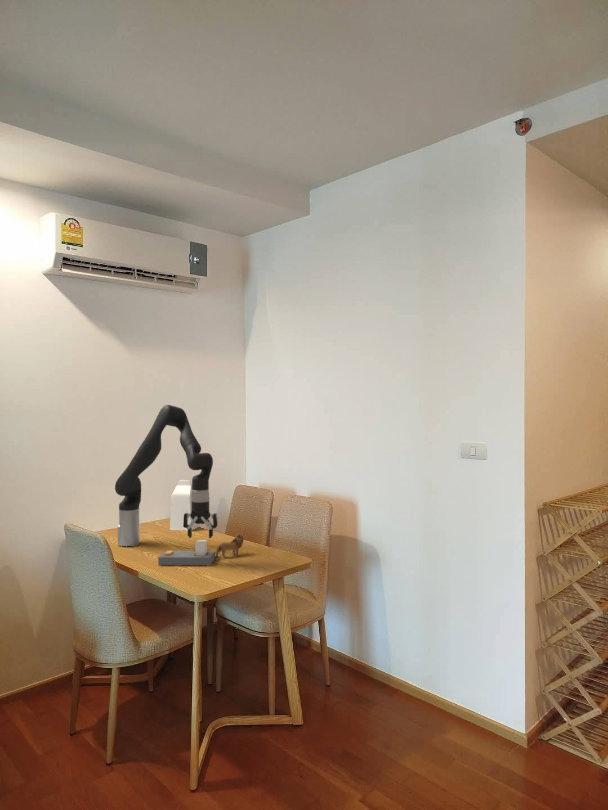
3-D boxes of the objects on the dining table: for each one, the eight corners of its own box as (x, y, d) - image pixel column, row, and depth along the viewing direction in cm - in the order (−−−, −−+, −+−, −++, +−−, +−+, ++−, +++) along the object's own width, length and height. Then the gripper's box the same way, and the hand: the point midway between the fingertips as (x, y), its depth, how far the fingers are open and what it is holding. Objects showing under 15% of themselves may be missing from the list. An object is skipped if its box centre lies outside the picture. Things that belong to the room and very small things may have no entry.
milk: (169, 530, 286) (169, 481, 285) (179, 525, 297) (179, 478, 296) (190, 531, 283) (190, 482, 282) (199, 526, 294) (199, 479, 294)
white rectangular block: (195, 563, 228) (195, 542, 228) (197, 560, 232) (197, 540, 232) (205, 563, 228) (204, 542, 228) (207, 560, 232) (206, 540, 232)
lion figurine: (239, 551, 245) (239, 532, 245) (246, 554, 241) (246, 534, 241) (211, 558, 236) (211, 538, 235) (218, 561, 231) (218, 540, 231)
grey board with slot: (158, 565, 226) (158, 555, 226) (165, 558, 236) (165, 548, 236) (210, 565, 225) (210, 555, 225) (215, 558, 235) (215, 548, 235)
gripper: (181, 501, 226) (181, 539, 226) (215, 501, 225) (215, 540, 226) (186, 498, 234) (186, 535, 234) (218, 498, 233) (218, 535, 233)
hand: (200, 537), depth 230 cm, fingers open, 8 cm apart
